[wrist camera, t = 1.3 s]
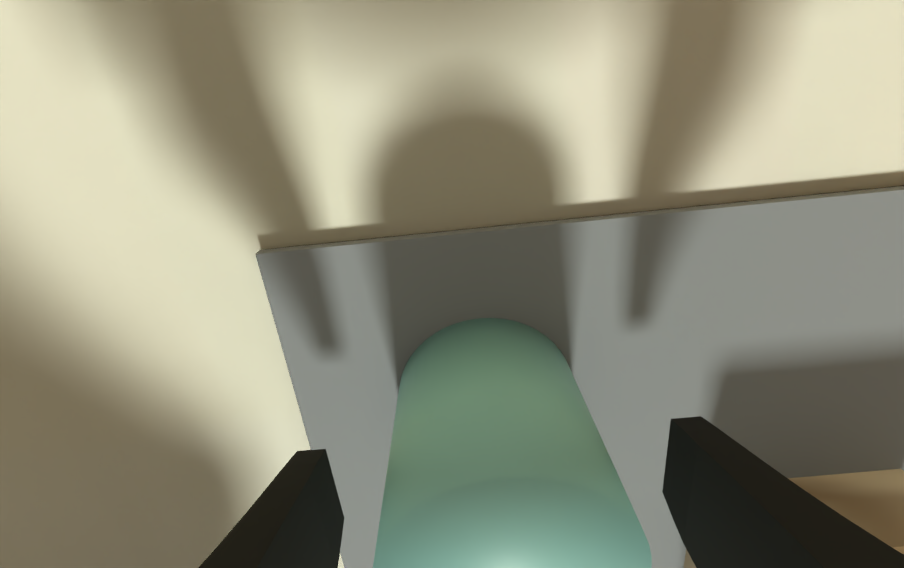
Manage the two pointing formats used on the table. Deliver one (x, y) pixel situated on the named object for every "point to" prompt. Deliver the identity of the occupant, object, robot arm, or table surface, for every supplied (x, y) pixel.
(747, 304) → the slate mat
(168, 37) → the table surface
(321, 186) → the table surface
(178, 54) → the table surface
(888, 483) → the birch slab low
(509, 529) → the green rounded knob
